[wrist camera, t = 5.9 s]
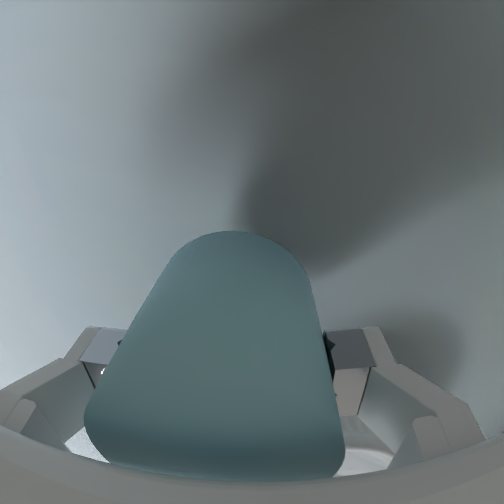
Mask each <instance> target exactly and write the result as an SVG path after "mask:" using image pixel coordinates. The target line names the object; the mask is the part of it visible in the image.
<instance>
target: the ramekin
mask: <svg viewBox="0 0 504 504" xmlns="http://www.w3.org/2000/svg"><path fill="white" fill-rule="evenodd" d="M357 416H358V415H352V416H340V422H341V427H342V432H343V438H344V443H345V449H346V451H345V459H344V461H343V464H342V466H341V467H340V469H339V470H338V472H337V473H336V474H335V475H334V476H333V477H341V476H349V475H356V474H362V473H368V472H374V471H379V470H385V469H387V467H388V466H389V464H390V462H391V461H392V459H393V457H394V456H395V453H394V452H393V451H392V450H391V449H390V448H389V447H388V446H387V445H386V444H385V443H384V442H383V441H381V440H380V439H379V438H378V437H377V436H376V435H375V434H374V433H373V432H372V431H371V430H370V429H369V428H368V427H367V426H366V425H365V424H364V423H363V422H362V421H361V420H360V419H359V418H358V417H357Z"/></svg>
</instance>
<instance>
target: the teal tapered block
mask: <svg viewBox="0 0 504 504" xmlns="http://www.w3.org/2000/svg"><path fill="white" fill-rule="evenodd" d="M84 425H85V428H86V432H87V434H88V436H89V438H90V440H91V442H92V443H93V445H94V446H95V447H96V449H97V450H98V451H99V452H100V453H101V454H102V456H103V457H104V458H105V459H107V460H108V461H109V462H110V463H111V464H114V465H118V466H123V467H127V468H132V469H137V470H143V471H148V472H154V473H160V474H167V475H174V476H182V477H190V478H200V479H212V480H228V481H295V480H311V479H323V478H332V477H333V476H334V475H335V474H336V473H337V472H338V470H339V469H340V467H341V466H342V464H343V461H344V459H345V451H346V449H345V443H344V438H343V432H342V427H341V422H340V417H339V411H338V406H337V401H336V396H335V392H334V387H333V382H332V377H331V372H330V368H329V363H328V359H327V354H326V349H325V345H324V341H323V336H322V332H321V327H320V323H319V319H318V315H317V310H316V306H315V302H314V298H313V294H312V290H311V286H310V282H309V279H308V277H307V274H306V272H305V271H304V269H303V267H302V266H301V264H300V263H299V262H298V261H297V259H296V258H295V257H294V256H293V255H292V254H291V253H290V252H289V251H288V250H286V249H285V248H283V247H282V246H281V245H279V244H278V243H276V242H274V241H272V240H270V239H268V238H265V237H263V236H260V235H257V234H252V233H248V232H240V231H222V232H216V233H211V234H208V235H204V236H201V237H199V238H197V239H195V240H193V241H191V242H189V243H188V244H186V245H185V246H183V247H182V248H181V249H180V250H179V251H177V253H176V254H175V255H174V256H173V257H172V258H171V260H170V261H169V263H168V264H167V266H166V268H165V269H164V271H163V272H162V274H161V276H160V277H159V279H158V280H157V282H156V284H155V285H154V287H153V289H152V290H151V292H150V293H149V295H148V297H147V298H146V300H145V302H144V303H143V305H142V307H141V308H140V310H139V312H138V314H137V315H136V317H135V319H134V320H133V322H132V324H131V325H130V327H129V329H128V331H127V332H126V334H125V336H124V338H123V339H122V341H121V343H120V345H119V346H118V348H117V350H116V352H115V354H114V355H113V357H112V359H111V361H110V363H109V364H108V366H107V368H106V370H105V372H104V373H103V375H102V377H101V379H100V381H99V383H98V385H97V387H96V388H95V390H94V392H93V394H92V396H91V398H90V400H89V402H88V404H87V406H86V408H85V412H84Z"/></svg>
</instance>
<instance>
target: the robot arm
mask: <svg viewBox="0 0 504 504" xmlns="http://www.w3.org/2000/svg"><path fill="white" fill-rule="evenodd" d="M127 331H128V330H125V329H114V328H102V327H92V326H90V327H87V328H86V329H85V330H84V331H83V333H82V334H81V335H80V337H79V338H78V339H77V341H76V342H75V344H74V345H73V346H72V348H71V349H70V350H69V352H68V353H67V355H66V356H65V357H64V359H62V358H59V359H57V360H55V361H53V362H52V363H50V364H48V365H46V366H44V367H42V368H40V369H38V370H37V371H35V372H33V373H31V374H29V375H27V376H25V377H23V378H22V379H20V380H18V381H16V382H14V383H12V384H10V385H8V386H7V387H5V388H3V389H1V391H0V504H504V433H502V434H500V435H497V436H495V437H492V438H490V439H487V440H485V438H484V436H483V434H482V432H481V430H480V428H479V426H478V424H477V422H476V420H475V418H474V416H473V414H472V412H471V410H470V408H469V406H468V404H466V403H464V402H463V401H461V400H460V399H458V398H456V397H455V396H453V395H451V394H450V393H448V392H446V391H445V390H443V389H442V388H440V387H438V386H437V385H435V384H433V383H432V382H430V381H429V380H427V379H425V378H424V377H422V376H421V375H419V374H417V373H416V372H414V371H413V370H411V369H409V368H408V367H406V366H404V365H403V364H396V362H395V360H394V358H393V355H392V353H391V351H390V349H389V347H388V345H387V343H386V340H385V338H384V336H383V334H382V332H381V330H380V328H379V327H377V326H373V327H363V328H359V329H347V330H332V331H324V333H323V341H324V345H325V349H326V354H327V359H328V363H329V368H330V372H331V377H332V382H333V387H334V392H335V396H336V401H337V406H338V411H339V417H340V416H352V415H358V416H357V417H358V418H359V419H360V420H361V421H362V422H363V423H364V424H365V425H366V426H367V427H368V428H369V429H370V430H371V431H372V432H373V433H374V434H375V435H376V436H377V437H378V438H379V439H380V440H381V441H383V442H384V443H385V444H386V445H387V446H388V447H389V448H390V449H391V450H392V451H393V452H394V453H395V456H394V457H393V459H392V461H391V462H390V464H389V466H388V467H387V469H385V470H379V471H374V472H368V473H362V474H356V475H349V476H341V477H332V478H323V479H311V480H295V481H228V480H212V479H200V478H190V477H182V476H174V475H167V474H160V473H154V472H148V471H143V470H137V469H132V468H127V467H123V466H118V465H114V464H110V463H106V462H102V461H98V460H94V459H91V458H87V457H84V456H80V455H77V454H74V453H72V452H71V451H70V450H69V448H68V447H67V446H66V445H65V442H66V441H67V440H68V439H70V438H71V437H72V436H73V435H74V434H76V433H77V432H78V431H79V430H80V429H82V428H83V427H84V426H85V425H84V412H85V408H86V406H87V404H88V402H89V400H90V398H91V396H92V394H93V392H94V390H95V388H96V387H97V385H98V383H99V381H100V379H101V377H102V375H103V373H104V372H105V370H106V368H107V366H108V364H109V363H110V361H111V359H112V357H113V355H114V354H115V352H116V350H117V348H118V346H119V345H120V343H121V341H122V339H123V338H124V336H125V334H126V332H127Z"/></svg>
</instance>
